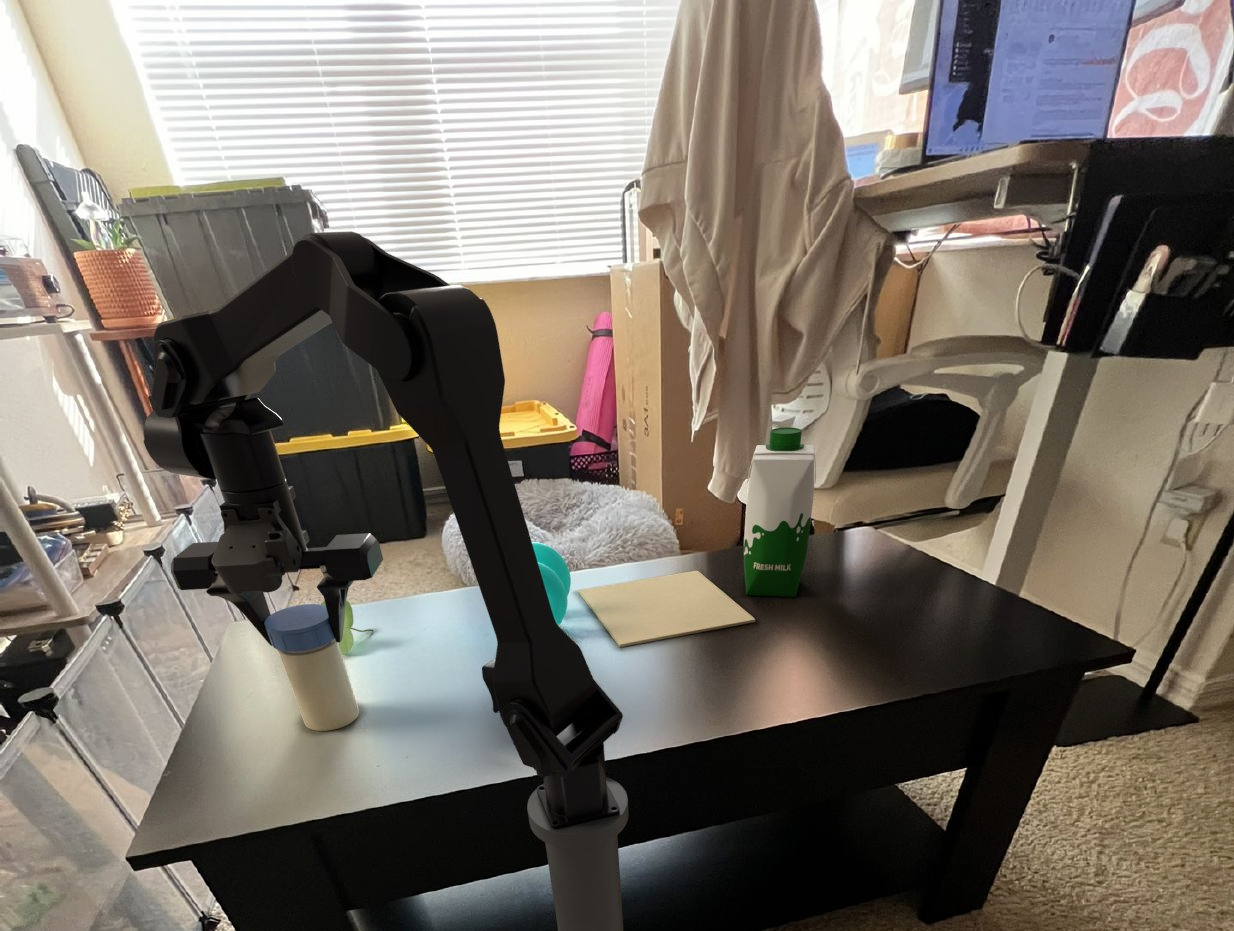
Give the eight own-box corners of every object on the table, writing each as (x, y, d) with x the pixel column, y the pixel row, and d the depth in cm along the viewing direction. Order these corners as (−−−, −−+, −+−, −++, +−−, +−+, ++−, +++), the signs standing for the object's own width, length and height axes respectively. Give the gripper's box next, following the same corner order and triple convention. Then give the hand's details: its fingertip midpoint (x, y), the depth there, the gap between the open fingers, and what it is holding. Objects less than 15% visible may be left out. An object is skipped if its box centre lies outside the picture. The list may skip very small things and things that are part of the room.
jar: (360, 724, 80) (331, 631, 73) (303, 735, 79) (268, 641, 72) (358, 699, 84) (330, 609, 77) (305, 709, 83) (272, 618, 76)
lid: (306, 620, 79) (300, 600, 78) (351, 630, 76) (345, 609, 75) (258, 645, 75) (249, 624, 73) (303, 656, 72) (296, 635, 71)
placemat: (755, 622, 96) (755, 619, 96) (619, 647, 92) (619, 644, 92) (697, 572, 111) (697, 570, 111) (578, 592, 107) (578, 590, 107)
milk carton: (803, 576, 107) (820, 426, 95) (802, 600, 101) (820, 441, 88) (743, 575, 109) (753, 427, 97) (738, 598, 102) (748, 442, 90)
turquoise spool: (574, 609, 102) (567, 537, 96) (570, 640, 94) (562, 563, 88) (504, 612, 102) (493, 540, 96) (494, 643, 95) (481, 567, 88)
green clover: (369, 673, 100) (330, 667, 95) (346, 625, 102) (307, 617, 96) (401, 643, 97) (364, 635, 91) (378, 594, 99) (339, 583, 93)
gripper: (106, 516, 60) (185, 684, 70) (330, 503, 60) (378, 674, 70) (166, 480, 68) (229, 635, 78) (363, 470, 68) (401, 625, 78)
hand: (306, 642), depth 76 cm, fingers closed on lid, 6 cm apart
